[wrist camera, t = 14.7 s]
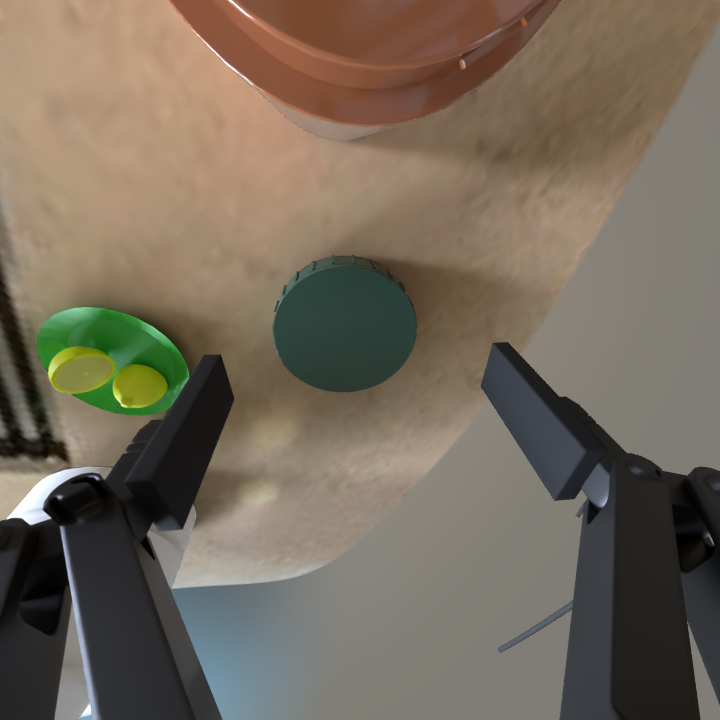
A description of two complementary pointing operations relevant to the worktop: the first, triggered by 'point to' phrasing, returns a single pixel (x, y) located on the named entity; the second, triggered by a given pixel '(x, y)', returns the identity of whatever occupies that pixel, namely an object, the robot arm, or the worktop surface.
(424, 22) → the jam jar
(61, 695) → the honey pot
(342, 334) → the jar lid
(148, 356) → the lemons on plate
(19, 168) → the worktop surface
